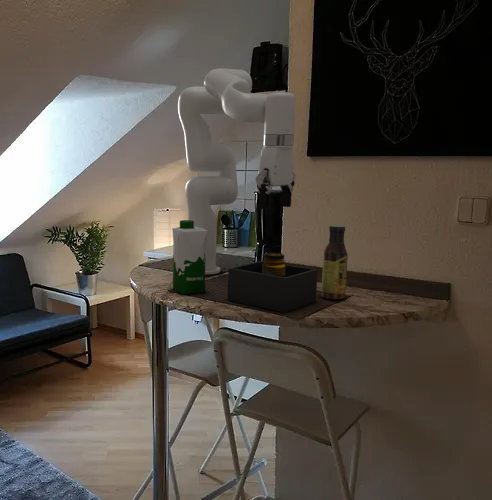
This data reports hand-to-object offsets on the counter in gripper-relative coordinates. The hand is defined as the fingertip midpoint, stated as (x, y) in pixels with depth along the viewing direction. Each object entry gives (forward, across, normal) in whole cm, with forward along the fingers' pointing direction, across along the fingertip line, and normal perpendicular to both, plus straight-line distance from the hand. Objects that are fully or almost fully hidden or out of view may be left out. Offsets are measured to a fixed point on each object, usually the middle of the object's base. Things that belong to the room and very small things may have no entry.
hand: (275, 207), depth 153 cm
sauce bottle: (+25, -13, +11) cm, 31 cm away
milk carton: (+25, +9, -21) cm, 34 cm away
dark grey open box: (+25, +2, +2) cm, 25 cm away
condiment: (+24, +3, +1) cm, 24 cm away
